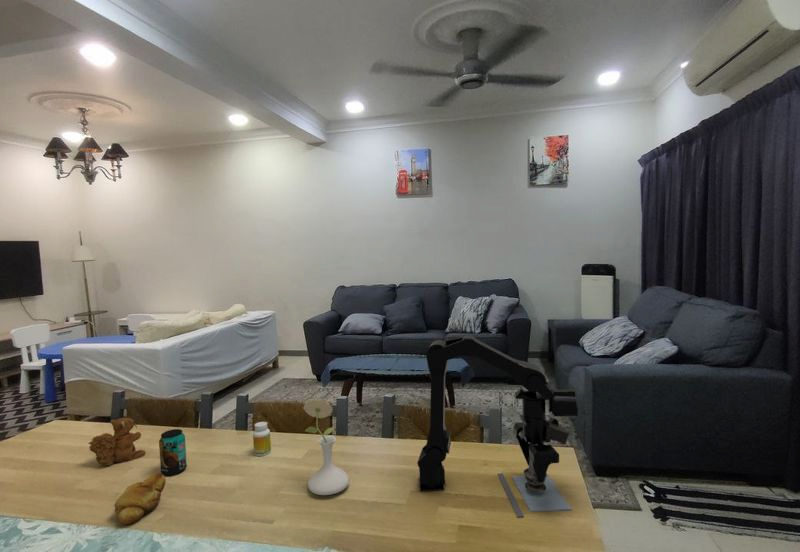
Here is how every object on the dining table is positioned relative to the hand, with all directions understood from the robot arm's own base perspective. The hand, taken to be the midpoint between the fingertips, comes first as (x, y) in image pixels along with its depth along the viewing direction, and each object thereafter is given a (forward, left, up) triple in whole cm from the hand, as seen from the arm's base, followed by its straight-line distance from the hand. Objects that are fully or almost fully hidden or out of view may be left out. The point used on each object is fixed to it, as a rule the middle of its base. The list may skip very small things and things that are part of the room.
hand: (535, 473), depth 111 cm
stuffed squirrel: (-128, +29, -6) cm, 131 cm away
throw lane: (-1, 0, -5) cm, 5 cm away
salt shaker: (0, 0, -4) cm, 4 cm away
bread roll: (-103, -1, -6) cm, 103 cm away
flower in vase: (-56, +7, -5) cm, 57 cm away
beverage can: (-105, +20, -5) cm, 107 cm away
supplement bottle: (-81, +30, -5) cm, 86 cm away
